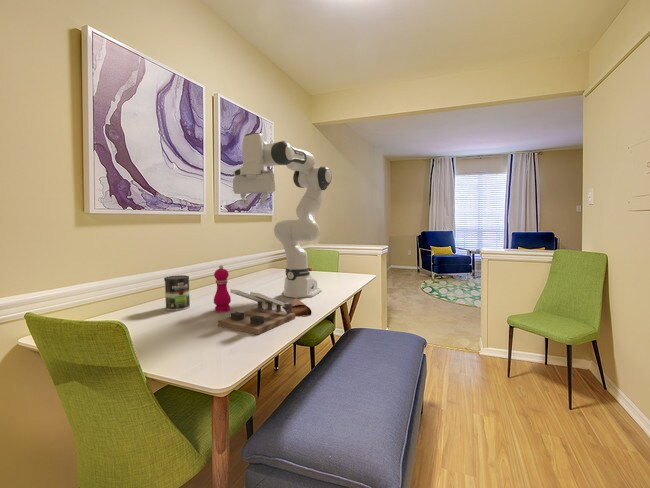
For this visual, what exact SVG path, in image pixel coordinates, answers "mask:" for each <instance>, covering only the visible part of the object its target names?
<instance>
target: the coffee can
mask: <svg viewBox="0 0 650 488" xmlns="http://www.w3.org/2000/svg"><path fill="white" fill-rule="evenodd" d="M164 293H165V294H164V296H165V298H164V299H165V301H164V302H165V310H166V311H171V312H175V311H183V310H187V309H189V308H190V307H191V305H190V304H191V303H190V302H191V301H190V300H191V299H190V276H189V275H185V274H184V275H183V274H182V275H179V274H178V275H170V276H166V277H164Z"/></svg>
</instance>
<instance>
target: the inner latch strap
mask: <svg viewBox="0 0 650 488" xmlns="http://www.w3.org/2000/svg"><path fill="white" fill-rule="evenodd" d="M229 293H231V294H234V295H237V296H240V297H242V298H245V299H248V300H252V301H254V302H257V303H258V302H260V303H262V304H263V305H264V304H265V305H268V303H267V301H264V300H261V299H259V298H256V297H253V296H250V293H247V292H245V291H242V290H238V289H232V288H230V291H229Z"/></svg>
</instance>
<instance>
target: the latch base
mask: <svg viewBox="0 0 650 488" xmlns="http://www.w3.org/2000/svg"><path fill="white" fill-rule="evenodd" d="M267 303H268V304H267V308H266V307H263V303H260V302H257V306H256V307H253V308H251V309H249V310H248V309H247V310H244V311H242V312H241V311H234V312H230V316H228V317H225V318H221V319H218V320H217V324H218V325H217V326H218V327H223V328H225V329H232V330H235V331H239V332H240V331H241V332H245V333H250V334H254V335H258V336H259V335H261V334H263V333H266V332H268V331H270V330H273V329H274V328H277V327H279V326H281V325H284V324H285V323H288V322H291V321H293V320H295V319H296V317H295V313H292V312H291V303H290V302H288V303H289V304H288V303H286V304H287V310H286V311H282V306H278V305H275V306H276V307H275V309H273V303H270V302H267Z"/></svg>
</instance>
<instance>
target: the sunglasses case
mask: <svg viewBox="0 0 650 488" xmlns="http://www.w3.org/2000/svg"><path fill="white" fill-rule="evenodd" d="M289 303H291V312H292V313H295V318H296V317H304V316H303V315H305V316H311V315H312V310H311V308H310V307H309V306H307V304H306V303H304V302H303V301H301V300H300V299H298V298H294V299H293V300H292V301H290V302H287V304H289ZM281 308H282V309H285V310H286V311H287V307H283V306H281Z"/></svg>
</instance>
